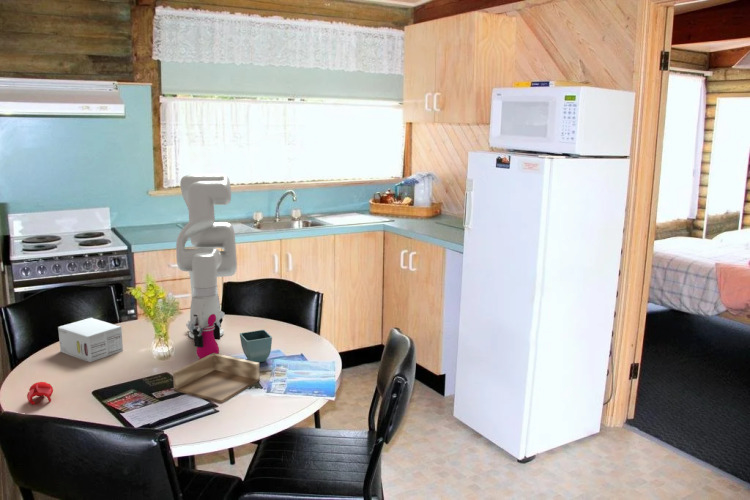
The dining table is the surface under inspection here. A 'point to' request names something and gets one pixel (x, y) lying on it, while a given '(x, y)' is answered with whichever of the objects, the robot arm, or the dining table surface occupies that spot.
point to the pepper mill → (208, 339)
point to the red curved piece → (39, 391)
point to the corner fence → (215, 368)
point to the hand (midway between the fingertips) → (207, 342)
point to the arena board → (217, 386)
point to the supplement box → (90, 339)
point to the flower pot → (256, 345)
